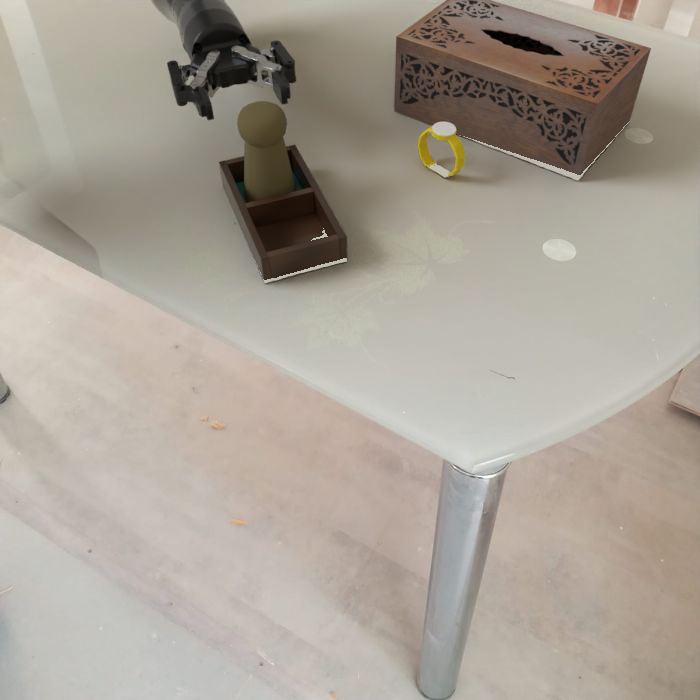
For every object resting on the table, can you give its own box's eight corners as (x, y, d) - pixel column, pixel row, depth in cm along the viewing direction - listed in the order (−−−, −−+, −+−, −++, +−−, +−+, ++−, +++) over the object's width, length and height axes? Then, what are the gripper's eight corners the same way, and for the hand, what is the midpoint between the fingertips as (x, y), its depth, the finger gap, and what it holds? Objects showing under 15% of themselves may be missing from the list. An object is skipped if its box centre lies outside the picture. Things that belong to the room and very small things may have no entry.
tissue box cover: (628, 123, 97) (651, 48, 89) (578, 181, 89) (597, 104, 82) (452, 63, 107) (459, -10, 99) (394, 110, 100) (396, 36, 92)
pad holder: (264, 284, 79) (260, 259, 77) (223, 186, 90) (218, 161, 87) (347, 262, 81) (346, 236, 79) (297, 169, 92) (295, 144, 89)
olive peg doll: (285, 173, 90) (277, 87, 82) (305, 202, 87) (298, 116, 78) (236, 187, 89) (223, 101, 80) (254, 217, 85) (242, 131, 77)
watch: (412, 166, 92) (414, 122, 87) (427, 156, 93) (430, 112, 89) (451, 187, 89) (456, 143, 85) (466, 176, 90) (471, 132, 86)
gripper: (149, 18, 91) (178, 87, 81) (265, -3, 94) (306, 60, 84) (162, 76, 97) (190, 147, 87) (271, 55, 100) (310, 121, 90)
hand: (247, 104), depth 86 cm, fingers open, 8 cm apart
